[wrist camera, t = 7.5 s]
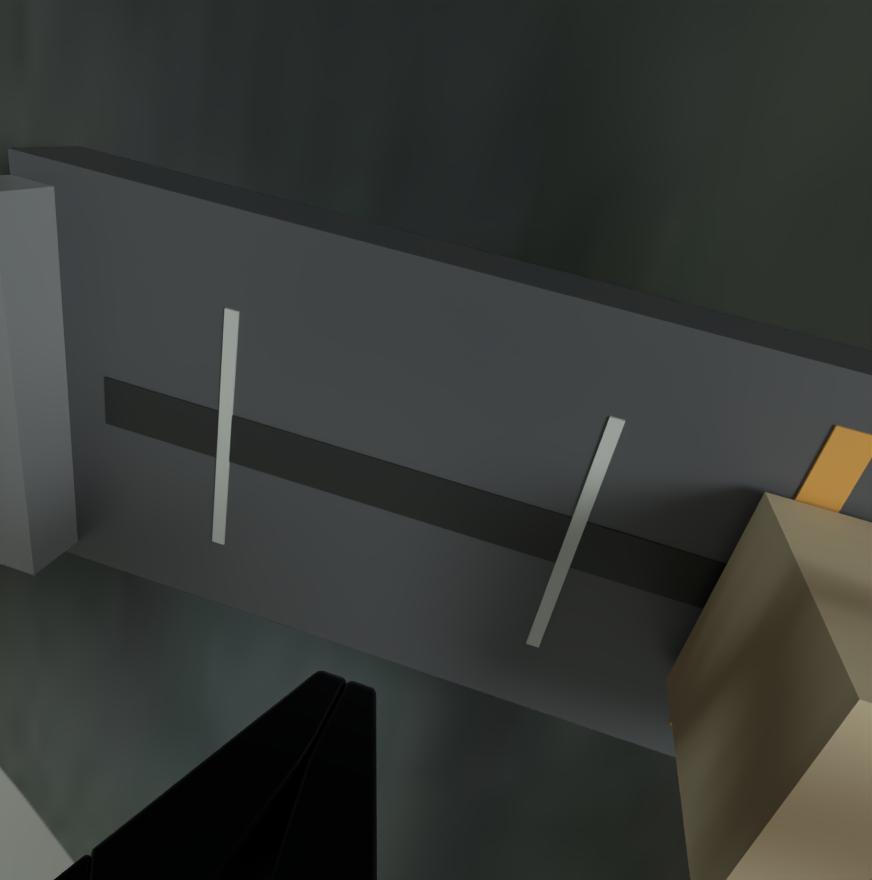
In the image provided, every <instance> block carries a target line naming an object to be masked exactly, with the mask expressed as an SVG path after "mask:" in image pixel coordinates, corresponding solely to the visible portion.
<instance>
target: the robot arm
mask: <svg viewBox="0 0 872 880" xmlns="http://www.w3.org/2000/svg"><path fill="white" fill-rule="evenodd" d="M54 880H377V804H376V692H375V690H374V688H372V687H369V686H366V685H363V684H360V683H357V682H354V681H349V682H348V683H347V684H346V680H345V679H344V678H343V677H340V676H337V675H334V674H331V673H328V672H325V671H318V672H316V673H314V674H313V675H312V676H311V677H309V678H308V679H307V680H305V681H304V682H303V683H302V684H300V685H299V686H298V687H297V688H295V689H294V690H293V691H292V692H290V693H289V694H288V695H287V696H285V697H284V698H283V699H282V700H280V701H279V702H278V703H276V704H275V705H274V706H273V707H271V708H270V709H269V710H268V711H266V712H265V713H264V714H263V715H261V716H260V717H259V718H258V719H256V720H255V721H254V722H252V723H251V724H250V725H249V726H247V727H246V728H245V729H244V730H242V731H241V732H240V733H239V734H237V735H236V736H235V737H234V738H232V739H231V740H230V741H229V742H227V743H226V744H225V745H223V746H222V747H221V748H220V749H218V750H217V751H216V752H215V753H213V754H212V755H211V756H210V757H208V758H207V759H206V760H205V761H203V762H202V763H201V764H200V765H198V766H197V767H196V768H194V769H193V770H192V771H191V772H189V773H188V774H187V775H186V776H184V777H183V778H182V779H181V780H179V781H178V782H177V783H176V784H174V785H173V786H172V787H171V788H169V789H168V790H167V791H165V792H164V793H163V794H162V795H160V796H159V797H158V798H157V799H155V800H154V801H153V802H152V803H150V804H149V805H148V806H147V807H145V808H144V809H143V810H142V811H140V812H139V813H138V814H136V815H135V816H134V817H133V818H131V819H130V820H129V821H128V822H126V823H125V824H124V825H123V826H121V827H120V828H119V829H118V830H116V831H115V832H114V833H113V834H111V835H110V836H109V837H107V838H106V839H105V840H104V841H102V842H101V843H100V844H99V845H97V846H96V847H95V848H94V849H93V850H92V852H91V858H90V856H89V855H84V856H83V857H82V858H80V859H79V860H78V861H77V862H75V863H74V864H73V865H72V866H71V867H69V868H68V869H67V870H65V871H64V872H63V873H62V874H61V875H59V876H58V877H57V878H56V879H54Z"/></svg>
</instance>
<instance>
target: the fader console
mask: <svg viewBox="0 0 872 880" xmlns="http://www.w3.org/2000/svg"><path fill="white" fill-rule="evenodd" d="M8 157H9V168H10V175H0V564H2V565H5V566H8V567H11V568H14V569H17V570H20V571H23V572H26V573H28V574H31V575H35V574H37V573H38V572H39V571H41V570H42V569H43V568H44V567H46V566H47V565H48V564H50V563H51V562H52V561H53V560H55V559H56V558H57V557H59V556H60V555H61V554H62V553H64V552H68V553H71V554H74V555H77V556H80V557H83V558H86V559H89V560H92V561H95V562H98V563H101V564H104V565H106V566H109V567H112V568H115V569H118V570H121V571H124V572H127V573H130V574H133V575H136V576H139V577H142V578H145V579H148V580H151V581H154V582H157V583H160V584H163V585H166V586H169V587H172V588H175V589H178V590H181V591H184V592H187V593H190V594H192V595H195V596H198V597H201V598H204V599H207V600H210V601H213V602H216V603H219V604H222V605H225V606H228V607H231V608H234V609H237V610H240V611H243V612H246V613H249V614H252V615H255V616H258V617H261V618H264V619H267V620H270V621H273V622H275V623H278V624H281V625H284V626H287V627H290V628H293V629H296V630H299V631H302V632H305V633H308V634H311V635H314V636H317V637H320V638H323V639H326V640H329V641H332V642H335V643H338V644H341V645H344V646H347V647H350V648H353V649H356V650H358V651H361V652H364V653H367V654H370V655H373V656H376V657H379V658H382V659H385V660H388V661H391V662H394V663H397V664H400V665H403V666H406V667H409V668H412V669H415V670H418V671H421V672H424V673H427V674H430V675H433V676H436V677H439V678H442V679H444V680H447V681H450V682H453V683H456V684H459V685H462V686H465V687H468V688H471V689H474V690H477V691H480V692H483V693H486V694H489V695H492V696H495V697H498V698H501V699H504V700H507V701H510V702H513V703H516V704H519V705H522V706H525V707H527V708H530V709H533V710H536V711H539V712H542V713H545V714H548V715H551V716H554V717H557V718H560V719H563V720H566V721H569V722H572V723H575V724H578V725H581V726H584V727H587V728H590V729H593V730H596V731H599V732H602V733H605V734H608V735H610V736H613V737H616V738H619V739H622V740H625V741H628V742H631V743H634V744H637V745H640V746H643V747H646V748H649V749H652V750H655V751H658V752H661V753H664V754H667V755H670V756H673V757H676V755H675V747H674V739H673V730H672V722H671V713H670V705H669V697H668V688H667V680H666V679H667V677H668V675H669V673H670V671H671V669H672V667H673V666H674V664H675V662H676V660H677V658H678V656H679V654H680V652H681V650H682V648H683V647H684V645H685V643H686V641H687V639H688V637H689V635H690V633H691V631H692V629H693V628H694V626H695V624H696V622H697V620H698V618H699V616H700V614H701V612H702V610H703V609H704V607H705V605H706V603H707V601H708V599H709V597H710V595H711V593H712V591H713V590H714V588H715V586H716V584H717V582H718V580H719V578H720V576H721V574H722V572H723V571H724V569H725V567H726V565H727V563H728V561H729V559H730V557H731V555H732V553H733V552H734V550H735V548H736V546H737V544H738V542H739V540H740V538H741V536H742V534H743V533H744V531H745V529H746V527H747V525H748V523H749V521H750V519H751V517H752V515H753V514H754V512H755V510H756V508H757V506H758V504H759V502H760V500H761V498H762V497H763V495H764V493H765V492H767V493H771V494H774V495H778V496H781V497H785V498H788V499H792V500H795V501H798V502H802V503H805V504H809V505H812V506H816V507H819V508H823V509H826V510H830V511H833V512H837V513H840V514H844V515H847V516H851V517H854V518H858V519H861V520H865V521H868V522H872V352H871V351H867V350H863V349H859V348H856V347H852V346H848V345H844V344H840V343H836V342H832V341H829V340H825V339H821V338H817V337H813V336H809V335H805V334H802V333H798V332H794V331H790V330H786V329H782V328H778V327H775V326H771V325H767V324H763V323H759V322H755V321H751V320H747V319H744V318H740V317H736V316H732V315H728V314H724V313H720V312H717V311H713V310H709V309H705V308H701V307H697V306H693V305H690V304H686V303H682V302H678V301H674V300H670V299H666V298H663V297H659V296H655V295H651V294H647V293H643V292H639V291H635V290H632V289H628V288H624V287H620V286H616V285H612V284H608V283H605V282H601V281H597V280H593V279H589V278H585V277H581V276H578V275H574V274H570V273H566V272H562V271H558V270H554V269H551V268H547V267H543V266H539V265H535V264H531V263H527V262H523V261H520V260H516V259H512V258H508V257H504V256H500V255H496V254H493V253H489V252H485V251H481V250H477V249H473V248H469V247H466V246H462V245H458V244H454V243H450V242H446V241H442V240H439V239H435V238H431V237H427V236H423V235H419V234H415V233H412V232H408V231H404V230H400V229H396V228H392V227H388V226H384V225H381V224H377V223H373V222H369V221H365V220H361V219H357V218H354V217H350V216H346V215H342V214H338V213H334V212H330V211H327V210H323V209H319V208H315V207H311V206H307V205H303V204H300V203H296V202H292V201H288V200H284V199H280V198H276V197H272V196H269V195H265V194H261V193H257V192H253V191H249V190H245V189H242V188H238V187H234V186H230V185H226V184H222V183H218V182H215V181H211V180H207V179H203V178H199V177H195V176H191V175H188V174H184V173H180V172H176V171H172V170H168V169H164V168H161V167H157V166H153V165H149V164H145V163H141V162H137V161H133V160H130V159H126V158H122V157H118V156H114V155H110V154H106V153H103V152H99V151H95V150H91V149H87V148H83V147H79V146H75V147H35V148H8Z"/></svg>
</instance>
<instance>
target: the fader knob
mask: <svg viewBox="0 0 872 880" xmlns="http://www.w3.org/2000/svg"><path fill="white" fill-rule="evenodd" d="M666 680H667V688H668V697H669V705H670V713H671V722H672V730H673V739H674V747H675V755H676V764H677V772H678V781H679V789H680V797H681V806H682V814H683V823H684V831H685V839H686V848H687V856H688V864H689V873H690V880H872V522H868V521H865V520H861V519H858V518H854V517H851V516H847V515H844V514H840V513H837V512H833V511H830V510H826V509H823V508H819V507H816V506H812V505H809V504H805V503H802V502H798V501H795V500H792V499H788V498H785V497H781V496H778V495H774V494H771V493H767V492H765V493H764V495H763V497H762V498H761V500H760V502H759V504H758V506H757V508H756V510H755V512H754V514H753V515H752V517H751V519H750V521H749V523H748V525H747V527H746V529H745V531H744V533H743V534H742V536H741V538H740V540H739V542H738V544H737V546H736V548H735V550H734V552H733V553H732V555H731V557H730V559H729V561H728V563H727V565H726V567H725V569H724V571H723V572H722V574H721V576H720V578H719V580H718V582H717V584H716V586H715V588H714V590H713V591H712V593H711V595H710V597H709V599H708V601H707V603H706V605H705V607H704V609H703V610H702V612H701V614H700V616H699V618H698V620H697V622H696V624H695V626H694V628H693V629H692V631H691V633H690V635H689V637H688V639H687V641H686V643H685V645H684V647H683V648H682V650H681V652H680V654H679V656H678V658H677V660H676V662H675V664H674V666H673V667H672V669H671V671H670V673H669V675H668V677H667V679H666Z"/></svg>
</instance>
